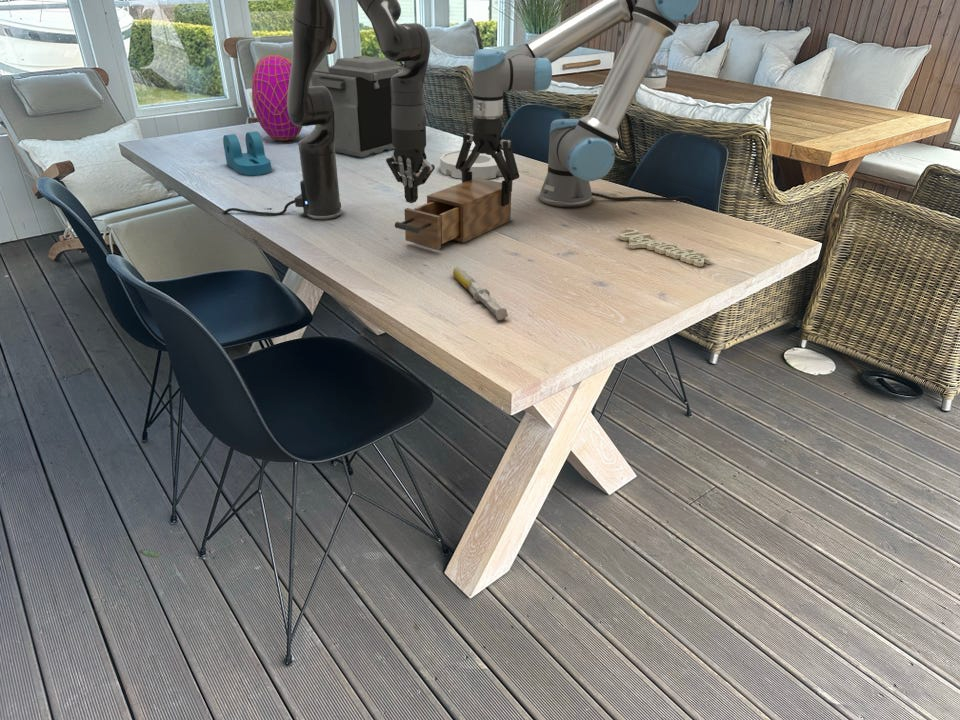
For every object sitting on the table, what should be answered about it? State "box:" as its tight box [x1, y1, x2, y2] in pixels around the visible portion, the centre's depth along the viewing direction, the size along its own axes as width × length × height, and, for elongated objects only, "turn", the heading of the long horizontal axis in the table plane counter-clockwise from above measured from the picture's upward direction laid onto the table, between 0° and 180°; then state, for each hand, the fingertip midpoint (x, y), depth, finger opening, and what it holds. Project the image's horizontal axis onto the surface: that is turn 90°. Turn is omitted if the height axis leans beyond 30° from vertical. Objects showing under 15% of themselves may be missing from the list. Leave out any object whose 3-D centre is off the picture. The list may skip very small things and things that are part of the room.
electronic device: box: [311, 55, 403, 159], centre depth 250 cm, size 37×22×30 cm, turn 144°
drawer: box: [394, 201, 460, 250], centre depth 170 cm, size 26×10×8 cm, turn 145°
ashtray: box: [439, 148, 506, 180], centre depth 230 cm, size 23×23×4 cm
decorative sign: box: [618, 227, 711, 267], centre depth 169 cm, size 26×1×10 cm
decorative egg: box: [251, 54, 304, 142], centre depth 257 cm, size 19×19×30 cm
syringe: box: [452, 266, 509, 321], centre depth 145 cm, size 25×4×3 cm, turn 21°
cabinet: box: [426, 178, 512, 244], centre depth 180 cm, size 22×12×10 cm, turn 145°
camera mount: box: [222, 131, 272, 176], centre depth 226 cm, size 18×10×10 cm, turn 35°
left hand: (411, 201), depth 159 cm, fingers closed
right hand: (486, 200), depth 185 cm, fingers closed on cabinet, 11 cm apart
